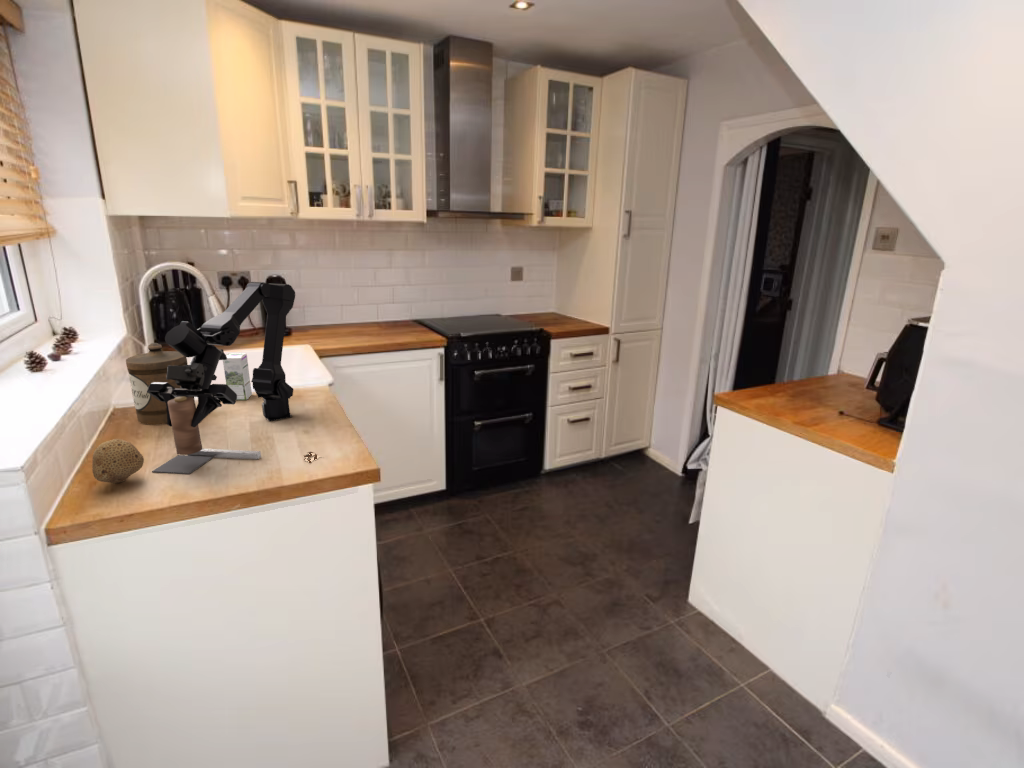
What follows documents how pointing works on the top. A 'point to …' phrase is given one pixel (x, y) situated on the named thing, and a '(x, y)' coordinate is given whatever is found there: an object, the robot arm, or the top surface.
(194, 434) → the brown thread spool
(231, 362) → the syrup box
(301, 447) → the top surface
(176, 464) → the grey square plate
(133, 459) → the natural sponge
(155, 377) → the wooden container
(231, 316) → the robot arm
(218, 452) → the steel straightedge
